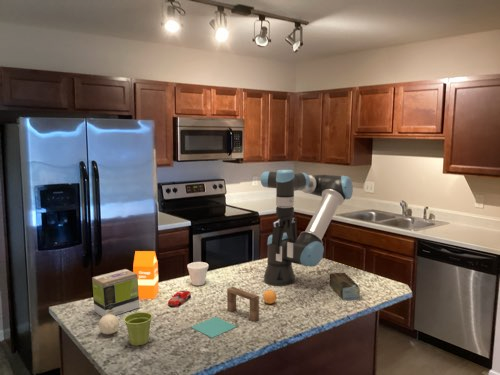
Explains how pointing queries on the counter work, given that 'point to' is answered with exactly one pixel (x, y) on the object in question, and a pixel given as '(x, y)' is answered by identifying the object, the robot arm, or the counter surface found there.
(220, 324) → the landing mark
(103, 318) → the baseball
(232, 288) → the bridge
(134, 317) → the plant pot
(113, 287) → the tea box
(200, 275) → the cup
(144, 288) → the orange juice
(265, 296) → the ball
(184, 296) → the race car
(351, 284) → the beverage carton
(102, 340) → the counter surface
